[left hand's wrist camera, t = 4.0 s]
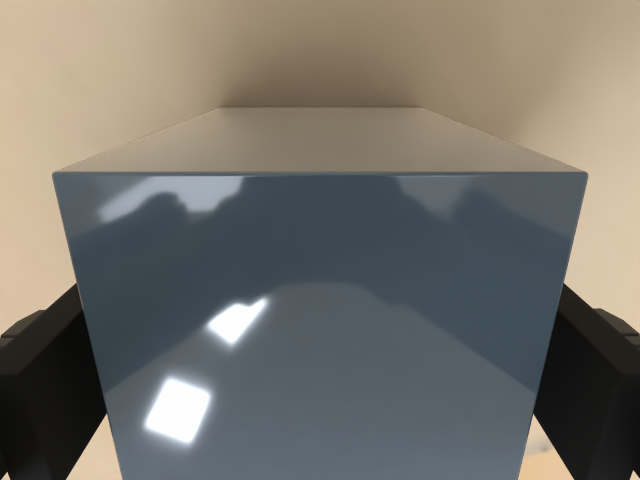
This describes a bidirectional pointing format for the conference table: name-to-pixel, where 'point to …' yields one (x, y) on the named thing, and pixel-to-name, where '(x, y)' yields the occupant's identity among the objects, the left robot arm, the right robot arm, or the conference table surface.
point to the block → (320, 293)
